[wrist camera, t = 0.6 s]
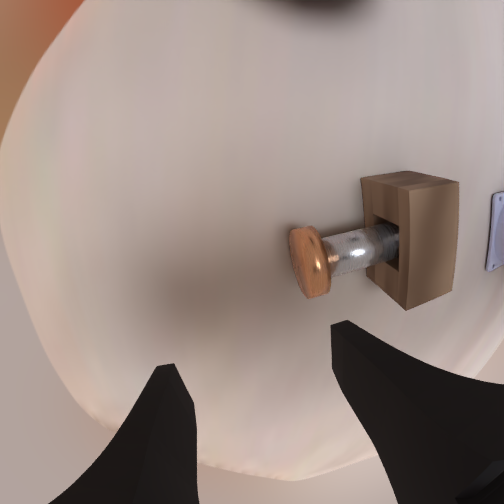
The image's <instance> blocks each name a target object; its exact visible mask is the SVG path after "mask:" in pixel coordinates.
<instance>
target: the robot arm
mask: <svg viewBox="0 0 504 504" xmlns="http://www.w3.org/2000/svg"><path fill="white" fill-rule="evenodd" d="M503 264H504V192H500V193H496V194H494V196H493V202H492V221H491V233H490V242H489V251H488V258H487V265H486V270H487V271H488V272H490V271H492V270H494V269H496V268H498V267H500V266H502V265H503ZM330 326H331V349H332V369H333V372H334V374H335V377H336V379H337V381H338V383H339V386H340V388H341V390H342V392H343V394H344V396H345V397H346V399H347V401H348V402H349V404H350V406H351V407H352V409H353V411H354V412H355V414H356V416H357V417H358V419H359V421H360V422H361V424H362V426H363V427H364V429H365V431H366V432H367V434H368V435H369V437H370V439H371V441H372V442H373V444H374V446H375V448H376V450H377V452H378V455H379V457H380V459H381V461H382V464H383V466H384V468H385V471H386V473H387V475H388V478H389V481H390V483H391V486H392V488H393V491H394V494H395V496H396V499H397V502H398V504H504V384H496V383H490V382H484V381H480V380H475V379H472V378H468V377H464V376H460V375H457V374H454V373H451V372H448V371H445V370H442V369H440V368H437V367H434V366H432V365H429V364H427V363H425V362H422V361H420V360H418V359H416V358H414V357H412V356H410V355H408V354H406V353H404V352H402V351H400V350H398V349H396V348H394V347H392V346H391V345H389V344H387V343H385V342H383V341H382V340H380V339H378V338H377V337H375V336H373V335H372V334H370V333H368V332H367V331H365V330H363V329H362V328H360V327H358V326H357V325H355V324H354V323H352V322H350V321H349V320H345V321H342V322H339V323H336V324H333V325H330ZM49 504H199V498H198V491H197V426H196V417H195V409H194V402H193V400H192V398H191V396H190V394H189V392H188V391H187V389H186V387H185V385H184V383H183V381H182V379H181V377H180V375H179V372H178V370H177V368H176V366H175V364H174V363H173V364H167V365H161V366H157V367H156V368H155V370H154V372H153V373H152V375H151V377H150V378H149V380H148V382H147V384H146V386H145V387H144V389H143V391H142V393H141V394H140V396H139V398H138V399H137V401H136V403H135V404H134V406H133V408H132V410H131V411H130V413H129V415H128V416H127V418H126V419H125V421H124V422H123V424H122V425H121V427H120V428H119V430H118V431H117V433H116V434H115V436H114V438H113V439H112V440H111V442H110V443H109V444H108V446H107V447H106V448H105V450H104V451H103V452H102V453H101V455H100V456H99V457H98V458H97V459H96V460H95V462H94V463H93V464H92V465H91V466H90V467H89V468H88V469H87V470H86V471H85V472H84V473H83V474H82V475H81V476H80V477H79V478H78V479H77V480H76V481H75V482H74V483H73V484H72V485H71V486H70V487H69V488H68V489H66V490H65V491H64V492H63V493H62V494H60V495H59V496H58V497H57V498H55V499H54V500H53V501H51V502H50V503H49Z"/></svg>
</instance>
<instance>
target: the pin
mask: <svg viewBox="0 0 504 504" xmlns="http://www.w3.org/2000/svg"><path fill="white" fill-rule="evenodd" d="M289 244H290V253H291V258H292V263H293V267H294V271H295V275H296V278H297V281H298V283H299V286H300V288H301V290H302V292H303V294H304V296H305V297H306V298H307V299H310V298H314V297H318V296H321V295H325V294H328V293H329V291H330V287H331V277H334V276H338V275H341V274H345V273H348V272H352V271H355V270H359V269H362V268H366V267H369V266H372V265H376V264H379V263H382V262H386V261H389V260H392V259H396V258H398V257H399V229H398V227H397V226H396V225H395V224H394V223H392V222H387V223H383V224H379V225H375V226H370V227H366V228H362V229H358V230H354V231H350V232H345V233H341V234H337V235H333V236H329V237H324V238H321V236H320V235H319V233H318V231H317V230H316V229H315V228H314V227H313V226H307V227H302V228H298V229H293V230H291V232H290V236H289Z"/></svg>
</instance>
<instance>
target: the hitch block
mask: <svg viewBox="0 0 504 504" xmlns="http://www.w3.org/2000/svg"><path fill="white" fill-rule="evenodd" d="M361 184H362V194H363V206H364V219H365V228H366V227H370V226H375V225H379V224H383V223H387V222H392V223H394V224H395V225H396V226H397V227H398V229H399V257H398V258H396V259H392V260H389V261H386V262H382V263H379V264H376V265H372V266H369V267H367V277H368V278H369V279H371V280H372V281H373V282H374V283H375V284H376V285H377V286H379V287H380V288H381V289H382V290H383V291H384V292H385V293H387V294H388V295H389V296H390V297H391V298H392V299H393V300H394V301H395V302H397V303H398V304H399V305H400V306H401V307H402V308H403V309H404V310H405V311H407V310H409V309H411V308H414V307H416V306H419V305H421V304H423V303H426V302H428V301H430V300H433V299H435V298H437V297H439V296H442V295H444V294H446V293H448V292H450V291H452V285H453V278H454V270H455V261H456V251H457V239H458V221H459V182H457V181H453V180H449V179H444V178H440V177H436V176H431V175H426V174H422V173H417V172H412V171H403V172H396V173H389V174H382V175H375V176H369V177H363V178H361Z"/></svg>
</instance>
